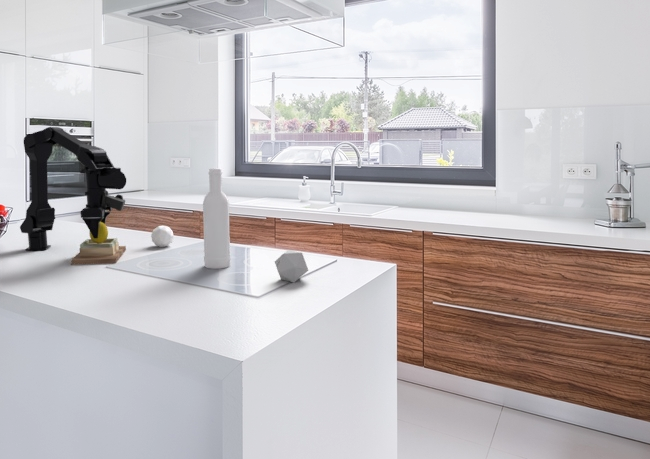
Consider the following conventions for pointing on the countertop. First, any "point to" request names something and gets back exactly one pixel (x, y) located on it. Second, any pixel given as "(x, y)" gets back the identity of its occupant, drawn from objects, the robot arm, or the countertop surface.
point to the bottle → (216, 224)
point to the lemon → (100, 234)
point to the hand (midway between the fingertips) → (98, 235)
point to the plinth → (98, 258)
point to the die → (291, 266)
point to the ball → (162, 236)
